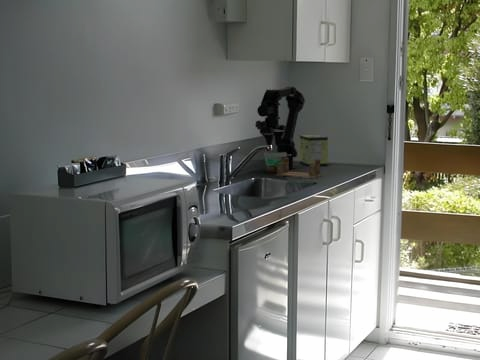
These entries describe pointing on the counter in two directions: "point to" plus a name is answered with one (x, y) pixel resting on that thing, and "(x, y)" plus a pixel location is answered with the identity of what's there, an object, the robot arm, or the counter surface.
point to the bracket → (284, 171)
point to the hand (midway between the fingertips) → (273, 146)
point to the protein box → (313, 149)
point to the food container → (273, 160)
